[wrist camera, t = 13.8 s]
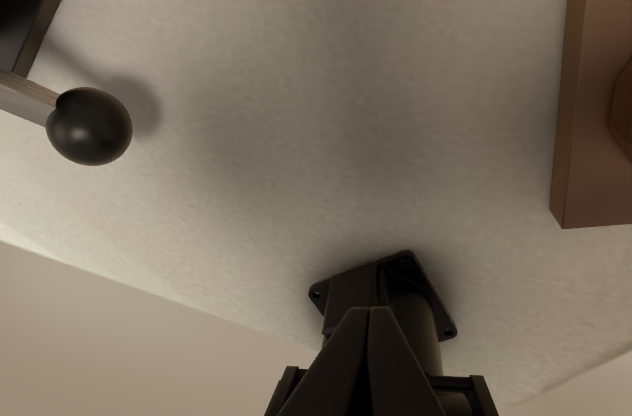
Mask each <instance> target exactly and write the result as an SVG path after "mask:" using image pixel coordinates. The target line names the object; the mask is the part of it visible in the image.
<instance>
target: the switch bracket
mask: <svg viewBox="0 0 632 416" xmlns="http://www.w3.org/2000/svg"><path fill="white" fill-rule="evenodd" d="M59 1H60V0H0V67H1V68H3V69H5V70H7V71H10V72H12V73H14V74H16V75H18V76H21V77H23V78H25V77H26V75H27V73H28V70H29V68H30V66H31V64H32V61H33V59H34V57H35V55H36V53H37V50H38V48H39V46H40V44H41V41H42V39H43V37H44V35H45V32H46V30H47V28H48V26H49V24H50V21H51V19H52V17H53V15H54V12H55V10H56V8H57V6H58V4H59Z"/></svg>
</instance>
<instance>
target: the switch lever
mask: <svg viewBox="0 0 632 416" xmlns="http://www.w3.org/2000/svg"><path fill="white" fill-rule="evenodd" d="M0 109H2V110H4V111H7V112H9V113H12V114H14V115H17V116H19V117H21V118H24V119H26V120H29V121H31V122H34V123H36V124H39V125H41V126H44V127H45V128H46V132H47V136H48V138H49V140H50V142H51V144H52V145H53V147H54V148H55V149H56V150H57V151H58V152H59V153H60V154H61V155H62V156H64V157H65V158H67V159H69V160H70V161H73V162H75V163H78V164H82V165H87V166H98V165H104V164H107V163H110V162H112V161H114V160H116V159H117V158H119V157H120V156H121V155H122V154H123V153H124V152H125V151H126V149H127V148H128V146H129V144H130V142H131V138H132V133H133V128H132V122H131V118H130V115H129V113H128V111H127V109H126V108H125V107H124V105H123V104H122V103H121V102H120V101H119V100H118V99H117V98H116V97H114V96H113V95H111V94H109V93H107V92H105V91H103V90H100V89H96V88H90V87H80V88H75V89H71V90H68V91H66V92H64V93H62V94H61V95H60V94H58V93H56V92H53V91H51V90H49V89H47V88H45V87H43V86H40V85H38V84H36V83H34V82H32V81H29V80H27V79H25V78H23V77H21V76H18V75H16V74H14V73H12V72H10V71H7V70H5V69H3V68H1V67H0Z"/></svg>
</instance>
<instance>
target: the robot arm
mask: <svg viewBox="0 0 632 416" xmlns="http://www.w3.org/2000/svg"><path fill="white" fill-rule="evenodd" d="M404 259H410V261H409V262H404V261H403V260H404ZM315 292H319V293H320V294H316V293H315ZM308 296H309V298H310V299H311V301H312V302H313V303H314V305H315V306H316V307H317V309H318V310H319V311H320V313H321V314H322V316H323V317H324V321H323V327H322V334H323V336H324V337H323V343H322V350H321V351H320V353H319V354H318V356H317V357H316V358H315V360H314V362H313V363H312V364H311V366H310V367H309V369H299V367H294V366H287V367H286V369H285V372H284V374H283V376H282V379H281V380H279V382H278V384H277V387H276V389H275V391H274V394H273V396H272V399H271V401H270V403H269V405H268V408H267V410H266V412H265V415H264V416H499V415H498V412H497V410H496V407H495V405H494V402H493V400H492V397H491V395H490V392H489V389H488V387H487V384H486V382H485V379H484V377H483V376H480V375H470V376H469V377H453V376H443V369H442V362H441V355H440V348H439V342H442V341H445V340H449V339H452V338H454V337H456V336H457V328H456V325H455V323H454V321H453V319H452V318H451V316H450V314H449V312H448V311H447V309H446V307H445V305H444V304H443V302H442V300H441V299H440V297H439V295H438V293H437V292H436V290H435V288H434V286H433V285H432V283H431V281H430V279H429V278H428V276H427V274H426V273H425V271H424V269H423V267H422V266H421V264H420V262H419V260H418V259H417V257H416V255H415V254H414V253H413V252H411V251H407V250H406V251H401V252H399V253H396V254H393V255H391V256H388V257H385V258H383V259H380V260H377V261H375V262H369V263H366V264H364V265H361V266H358V267H356V268H353V269H350V270H348V271H345V272H342V273H340V274H337V275H334V276H332V278H329V279H327V280H324V281H321V282H319V283H316V284H313V285H312V286H311V287H310V288H309V293H308ZM446 330H449V331H446Z"/></svg>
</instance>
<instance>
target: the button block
mask: <svg viewBox="0 0 632 416" xmlns="http://www.w3.org/2000/svg"><path fill="white" fill-rule="evenodd" d="M550 211H551V213H552V214H553V216H554V217H555V219H556V220H557V222H558V223H559V225H560V226H561V228H562V229H570V228H583V227H596V226H609V225H621V224H632V0H568V4H567V16H566V27H565V39H564V50H563V62H562V74H561V85H560V97H559V109H558V120H557V132H556V143H555V155H554V167H553V178H552V190H551V201H550Z"/></svg>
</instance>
